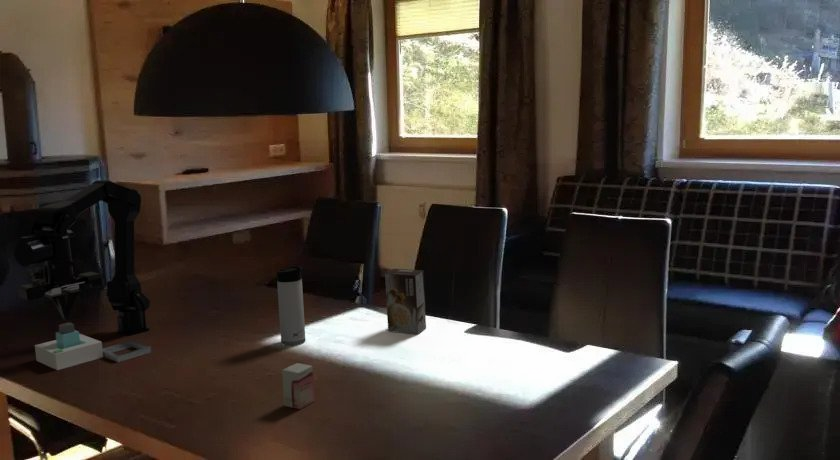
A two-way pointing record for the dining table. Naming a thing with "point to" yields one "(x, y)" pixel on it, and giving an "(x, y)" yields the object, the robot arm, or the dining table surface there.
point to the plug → (67, 336)
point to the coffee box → (405, 301)
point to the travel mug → (291, 306)
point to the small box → (298, 385)
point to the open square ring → (118, 358)
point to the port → (68, 353)
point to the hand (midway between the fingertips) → (65, 319)
